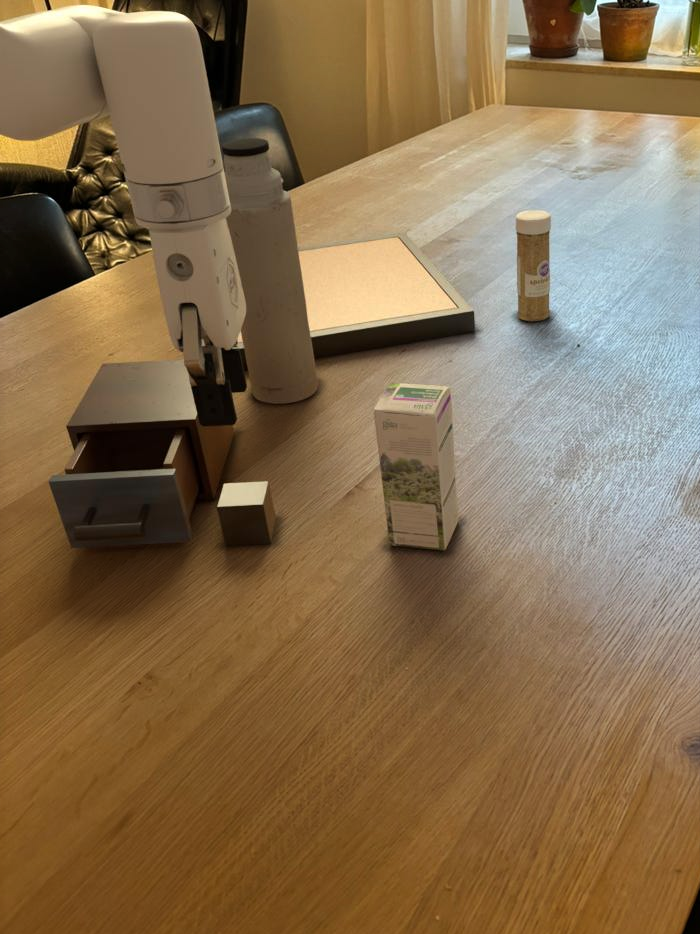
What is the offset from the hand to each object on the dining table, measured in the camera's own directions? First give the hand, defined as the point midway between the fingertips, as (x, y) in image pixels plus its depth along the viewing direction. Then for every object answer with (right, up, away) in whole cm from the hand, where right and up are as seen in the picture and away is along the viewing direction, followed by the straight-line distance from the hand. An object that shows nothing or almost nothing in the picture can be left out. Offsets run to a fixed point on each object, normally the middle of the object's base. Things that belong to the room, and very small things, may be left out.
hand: (224, 405), depth 92 cm
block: (+1, -10, +9) cm, 14 cm away
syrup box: (+18, -11, +7) cm, 22 cm away
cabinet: (-11, -2, +19) cm, 22 cm away
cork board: (0, +27, +55) cm, 61 cm away
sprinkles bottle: (+30, +23, +49) cm, 62 cm away
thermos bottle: (-1, +9, +34) cm, 35 cm away
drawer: (-11, -9, +9) cm, 17 cm away
